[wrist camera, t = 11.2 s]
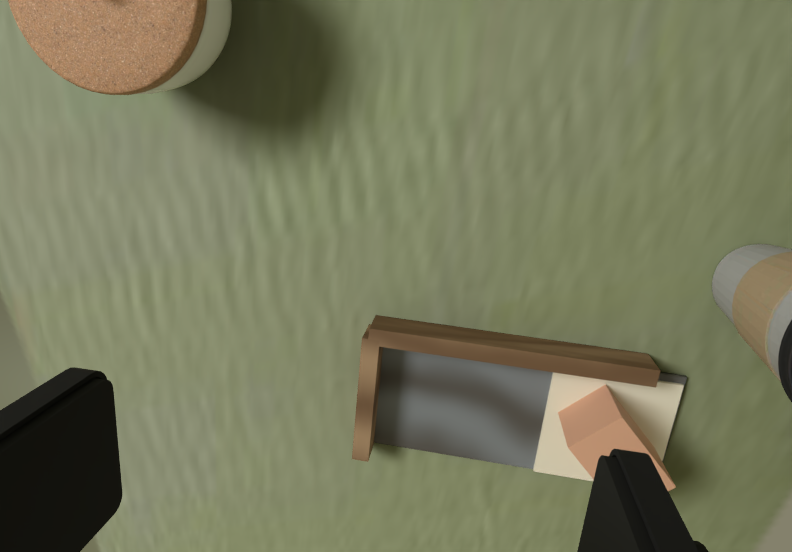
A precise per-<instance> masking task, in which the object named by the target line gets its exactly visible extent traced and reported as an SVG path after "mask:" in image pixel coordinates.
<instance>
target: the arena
mask: <svg viewBox="0 0 792 552" xmlns="http://www.w3.org/2000/svg"><path fill="white" fill-rule="evenodd" d="M553 372H554V373H561V374H568V375H574V376H581V377H588V378H595V379H601V380H608V381H615V382H622V383H628V384H635V385H642V386H649V387H655V388H656V386H657V382H658V380H659V381H666V382H673V383H680V384H683V385H684V387H685V383H686V380H687V377H686V376H684V375H677V374H670V373H663V372H660V369H659V368H658V367H657V365H656V364H655V363H654V361H653V360H652V358H651V357H650V356H649V354H645V353H638V352H631V351H624V350H617V349H610V348H603V347H596V346H589V345H582V344H575V343H568V342H561V341H554V340H547V339H540V338H533V337H526V336H519V335H512V334H505V333H497V332H490V331H483V330H476V329H469V328H462V327H455V326H448V325H441V324H434V323H427V322H420V321H413V320H406V319H399V318H392V317H385V316H378V315H376V316H375V318H374V320H373V322H372V324H371V325H370V324H369V326H368V328H367V330H366V332H365V334H364V336H363V337H362V346H361V358H360V370H359V382H358V394H357V405H356V417H355V429H354V441H353V453H352V459H356V460H362V461H367V462H368V461H369V457H370V454H371V451H372V448H373V444H374V442H375V443H381V444H387V445H393V446H399V447H405V448H411V449H417V450H423V451H429V452H435V453H440V454H446V455H452V456H458V457H464V458H470V459H476V460H482V461H488V462H494V463H500V464H506V465H512V466H518V467H524V468H530V469H533V468H534V463H535V458H536V453H537V448H538V443H539V439H540V434H541V429H542V424H543V419H544V414H545V409H546V404H547V399H548V394H549V389H550V384H551V379H552V374H553ZM684 387H683V390H684ZM682 394H683V391H682ZM682 394H681V397H682ZM680 401H681V398H680ZM680 401H679V404H680ZM678 408H679V405H678ZM678 408H677V411H678ZM676 415H677V412H676ZM676 415H675V418H676ZM674 422H675V419H674ZM673 425H674V423H673ZM672 429H673V426H672ZM671 432H672V430H671ZM670 436H671V433H670ZM669 439H670V437H669ZM668 443H669V440H668ZM667 446H668V444H667ZM666 450H667V447H666ZM665 453H666V451H665ZM664 457H665V454H664ZM663 460H664V458H663ZM662 462H663V461H662Z"/></svg>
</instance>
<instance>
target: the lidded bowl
mask: <svg viewBox="0 0 792 552" xmlns="http://www.w3.org/2000/svg"><path fill="white" fill-rule="evenodd" d="M8 1H9V4H10V8H11V11H12V13H13V15H14V18H15V20H16V22H17V25H18V27H19V29H20V30H21V32H22V33H23V35H24V37H25V38H26V40H27V42H28V43H29V45H30V46H31V47H32V48H33V50H34V51H35V52H36V54H37V55H38V56H39V57H40V58H41V59H42V60H43V61H44V62H45V63H46V64H47V65H48V66H49V67H50V68H51V69H52V70H53V71H55V72H56V73H57V74H59V75H60V76H61V77H63V78H64V79H66V80H67V81H69V82H71V83H73V84H75V85H77V86H79V87H81V88H84V89H87V90H90V91H92V92H98V93H103V94H110V95H131V94H152V93H158V92H163V91H169V90H173V89H176V88H178V87H181V86H184V85H186V84H189V83H191V82H192V81H194V80H196V79H197V78H199V77H200V76H201V75H202V74H204V73H205V72H206V71H207V70H208V69H209V68H210V67H211V66H212V65H213V63H214V62H215V61H216V60H217V58H218V57H219V55H220V53H221V52H222V50H223V48H224V46H225V43H226V40H227V38H228V35H229V30H230V25H231V16H232V3H231V0H8Z"/></svg>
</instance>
